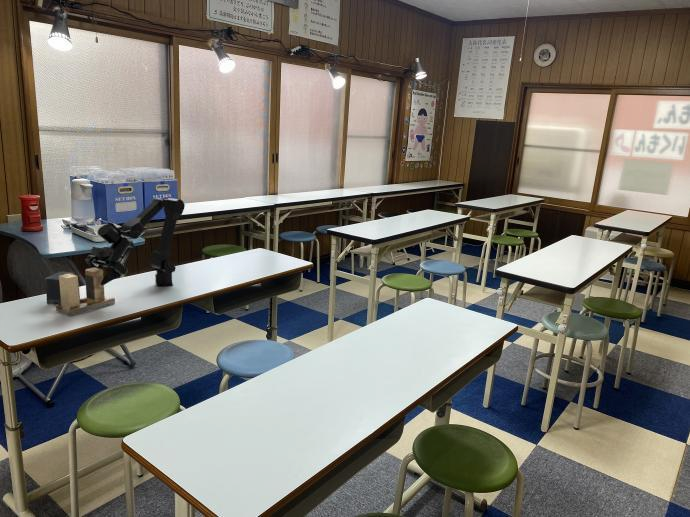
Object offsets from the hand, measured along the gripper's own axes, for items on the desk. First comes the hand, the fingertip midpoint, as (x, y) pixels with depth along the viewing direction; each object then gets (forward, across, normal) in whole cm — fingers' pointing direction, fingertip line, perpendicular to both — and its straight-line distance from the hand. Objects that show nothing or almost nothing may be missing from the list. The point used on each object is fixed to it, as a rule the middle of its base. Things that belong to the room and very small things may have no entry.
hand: (93, 282), depth 196 cm
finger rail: (+9, 0, +4) cm, 10 cm away
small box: (+10, -14, +3) cm, 17 cm away
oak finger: (+5, 0, +6) cm, 8 cm away
